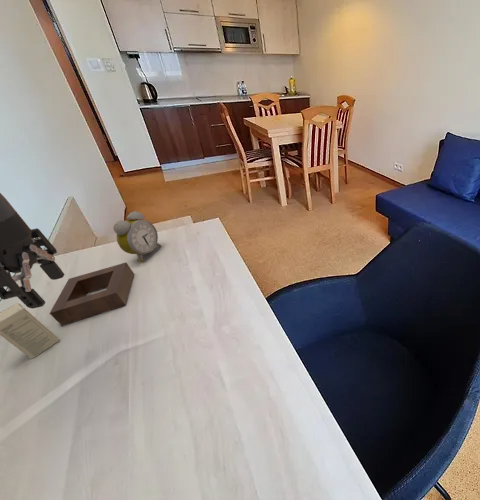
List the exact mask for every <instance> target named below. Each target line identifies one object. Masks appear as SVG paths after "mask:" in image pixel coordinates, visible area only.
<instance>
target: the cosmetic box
mask: <svg viewBox="0 0 480 500" xmlns="http://www.w3.org/2000/svg"><path fill="white" fill-rule="evenodd" d="M0 336H1V337H2V338H4V339H5V340H6V341H7V342H9V343H10V344H11V345H12V346H14V347H15V348H17V349H18V350H19V351H20V352H22V353H23V354H24V355H26V356H27V357H28V358H29V359H31V360H32V359H34V358H35V357H37V356H38V355H40V354H41V353H44V351H46V350H47V349H49V348H51V347H52V346H54V345H55V344H56V343H58V342H59V341H60V338H59V337H58V336H57V335H55V334H54V333H53V332H52V331H51V330H50V329H49V328H48V327H47V326H46V325H45V324H43V323H42V322H41V321H40V320H39V319H37V317H35V316H34V315H33V314H32V313H31V312H30V311H29V310H28V309H26V308H25V307H24V306H23V305H22V304H20V303H19V302H16V303H14V304H13V305H11V306H9V307H7V308H6V309H4V310H2V311H0Z"/></svg>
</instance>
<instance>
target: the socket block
mask: <svg viewBox="0 0 480 500" xmlns="http://www.w3.org/2000/svg"><path fill="white" fill-rule="evenodd" d="M134 278H135V273H134V271H133V270H132V268H131V267H130V265H129V264H128V262H123V263H119V264H116V265H112V266H109V267H104V268H101V269H98V270H94V271H90V272H87V273H84V274H80V275H77V276H73V277H70V278H68V279H67V282H66V283H65V284H64V286H63V288H62V290H61V292H60V294H59V295H58V297H57V299H56V301H55V303H54V304H53V306H52V308H51V310H50V311H49V315H50V316H51V317H52V318H53V319H54V320H55V321H56V322H57V323H58V324H59V325H60V326H61V327H63V326H66V325H69V324H72V323H75V322H79V321H83V320H85V319H88V318H91V317H94V316H97V315H100V314H103V313H107V312H111V311H113V310H116V309H119V308H122V307H126V306H127V303H128V300H129V296H130V292H131V288H132V286H133V281H134ZM104 289H105V290H104ZM100 290H101V291H100ZM97 291H98V292H97ZM91 293H92V294H91Z"/></svg>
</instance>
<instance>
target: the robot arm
mask: <svg viewBox="0 0 480 500" xmlns="http://www.w3.org/2000/svg"><path fill="white" fill-rule="evenodd" d="M42 247H45V249H43V248H42ZM57 253H58V250H57V248H56V247H55V246H54V245H53V244H52V243H51V241H50V240H49V239H48V238H47V237H46V236H45V235H44V233H43V232H42V231H41V230H40V228H33V229H31V228H30V227H29V225H28V224H27V222H26V221H25V220H24V219H23V218H22V217H21V215H20V214H19V213H18V211H16V209H15V208H14V206H12V204H11V203H10V202H9V201H8V199H7V198H6V197H5V196H4V194H2V192H0V299H1V300H3V301H4V300H5V301H6V300H9V299H12V298H18V299H19V301H21V302H22V303H23V304H24V305H25V306H26V307H27V308H28V309H37V308H42V307H44V306H45V304H46V301H45V299H43V297H42V296H41V295H40V294H39V292H37V291H36V290H35V289H34V288H32V286H31V285H32V284H31V282H30V279H31V278H32V272H31V270H32V268H33V266H34V265H35V264H37V265H39V267H40V269H41V270H42V271H43V272H44V273H45V274H46V275H47V277H48V278H49V279H50V280H53V281H56V280H59V279H63V278H64V277H65V273H64V271H63V270H62V269H61V267H60V266H59V265H58V264H57V263H56V258H55V256H54V255H55V254H57ZM11 274H17V275H11ZM19 281H20V285H21V286H20V285H19V284H18V283H17V282H19ZM5 287H6V288H7V289H5Z"/></svg>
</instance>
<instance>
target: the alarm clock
mask: <svg viewBox="0 0 480 500" xmlns="http://www.w3.org/2000/svg"><path fill="white" fill-rule="evenodd" d="M112 229H113V231H114V233H115V234H116V242H117V244H118V246H119V248H120V249H121V250H122V251H123V252H124V253H127V254H131V255H137V258H138V261H139V263H143V262H144V255H147V254H149V253H151V252H152V251H153V250H155V248H156V247H159V248H160V247H161V246H162V245H161V244H160V243H159V242H158V240H159V235H158V231H157V228H156V227H155V225H154V224H153V223H152V222H151V221H148V220H147V219H146V217H145V215H144V214H143V213H141V212H139V211H137V210H134V211H132V212H131V211H130V213H129V214H128V215H127V216H126V220H124V219H123V220H118V221H116V222H115V223H114V225H113V228H112Z"/></svg>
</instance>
